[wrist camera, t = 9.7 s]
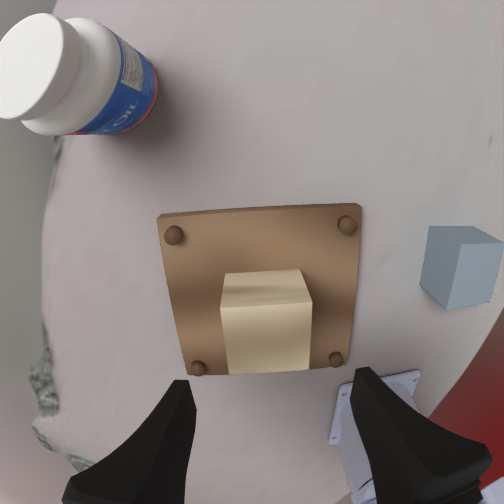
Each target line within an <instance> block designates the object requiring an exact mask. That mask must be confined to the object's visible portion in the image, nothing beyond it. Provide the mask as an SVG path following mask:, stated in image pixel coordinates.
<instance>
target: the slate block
mask: <svg viewBox="0 0 504 504" xmlns="http://www.w3.org/2000/svg"><path fill="white" fill-rule="evenodd" d="M503 248H504V242H502V241H500V240H498V239H496V238H494V237H492V236H491V235H489V234H487V233H485V232H483V231H481V230H479V229H477V228H475V227H473V226H429V231H428V238H427V245H426V252H425V258H424V263H423V269H422V274H421V279H420V285H421V286H422V287H423V288H424V289H425V290H426V291H427V292H428V293H429V294H430V295H431V296H432V297H433V298H434V299H435V300H436V301H437V302H438V303H439V304H440V305H441V306H442V307H443V308H444V309H445V310H451V309H457V308H463V307H468V306H474V305H479V304H484V303H489V302H490V299H491V296H492V292H493V289H494V285H495V282H496V278H497V274H498V270H499V266H500V262H501V258H502V253H503Z"/></svg>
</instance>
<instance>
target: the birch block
mask: <svg viewBox="0 0 504 504" xmlns="http://www.w3.org/2000/svg"><path fill="white" fill-rule="evenodd" d="M220 312H221V319H222V327H223V334H224V342H225V349H226V356H227V363H228V369H229V375H233V374H256V373H272V372H285V371H297V370H307V369H309V358H310V342H311V322H312V300H311V297H310V294H309V292H308V289H307V286H306V284H305V281H304V278H303V276H302V273H301V271H300V269H293V270H277V271H261V272H245V273H227V274H225V279H224V285H223V292H222V298H221V305H220Z"/></svg>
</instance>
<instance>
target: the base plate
mask: <svg viewBox="0 0 504 504" xmlns="http://www.w3.org/2000/svg"><path fill="white" fill-rule="evenodd" d="M361 209H362V207H361V206H360V205H358V204H357V203H339V204H310V205H287V206H267V207H250V208H234V209H220V210H206V211H193V212H181V213H170V214H161V215H160V216H159V217H157V225H158V232H159V239H160V245H161V251H162V257H163V263H164V268H165V274H166V279H167V285H168V290H169V295H170V300H171V305H172V310H173V315H174V319H175V324H176V328H177V333H178V337H179V341H180V346H181V350H182V354H183V358H184V362H185V366H186V370H187V374H188V375H194V376H198V377H199V376H202V375H229V369H228V363H227V356H226V349H225V342H224V334H223V327H222V319H221V312H220V305H221V298H222V292H223V285H224V279H225V274H227V273H245V272H261V271H277V270H293V269H300V271H301V273H302V276H303V278H304V281H305V284H306V286H307V289H308V292H309V294H310V297H311V300H312V322H311V342H310V358H309V369H316V368H325V367H334V368H337V367H340V366H341V365H346V363H347V357H348V350H349V344H350V337H351V329H352V322H353V314H354V305H355V296H356V286H357V275H358V263H359V250H360V233H361Z"/></svg>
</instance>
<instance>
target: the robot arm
mask: <svg viewBox="0 0 504 504" xmlns="http://www.w3.org/2000/svg"><path fill="white" fill-rule="evenodd" d="M420 375H421V373H420V371H419V370H415V371H410V372H406V373H402V374H397V375H392V376H387V377H382V378H380V377H379V376H378V375H377V374H376V373H375V372H374V371H373V370H372V369H371V368H370V367H363V368H357V369H356V371H355V376H354V381H353V383H348V384H343V385H341V386H340V387H339V390H338V396H337V401H336V406H335V411H334V416H333V421H332V426H331V430H330V435H329V439H328V444H329V445H336V444H338V446H339V450H340V454H341V458H342V462H343V466H344V470H345V474H346V479H347V483H348V486H349V488H350V490H351V491H352V493H353V494H351V499H352V503H353V504H504V477H501V478H500V479H498V480H496V481H495V482H493V483H491V484H490V485H488V486H486V487H485V488H483V489H482V490H481V491H480V490H479V488H478V486H479V485H480V484H481V483H480V480H479V477H480V476H481V475H482V474H483V473H484V472H485V471H486V470H487V469H488V467H489V466H490V465H491V463H492V461H493V457H492V455H491V454H490V452H489V450H488V449H487V447H486V445H485V444H482V443H479V442H476V441H473V440H470V439H467V438H464V437H462V436H459V435H457V434H454V433H452V432H450V431H448V430H446V429H444V428H442V427H441V426H439V425H437V424H435V423H433V422H432V421H430V420H429V419H427V418H426V417H424V416H423V415H421V413H420V411H419V409H418V407H417V405H416V403H415V401H414V400H413V398H412V396H413V394H414V391H415V389H416V386H417V384H418V381H419V378H420ZM196 412H197V409H196V406H195V402H194V399H193V395H192V391H191V388H190V384H189V380H174V381H173V382H172V384H171V385H170V387H169V388H168V390H167V391H166V393H165V394H164V396H163V397H162V399H161V400H160V402H159V403H158V404H157V406H156V407H155V408H154V410H153V411H152V412H151V414H150V415H149V416H148V417H147V418H146V420H145V421H144V422H143V423H142V424H141V426H140V427H139V428H138V429H137V430H136V431H135V432H134V433H133V434H132V435H131V436H130V437H129V438H128V439H127V440H126V441H125V442H124V443H123V444H122V445H120V446H119V447H118V448H117V449H116V450H114V451H113V452H112V453H111V454H109V455H108V456H107V457H105V458H104V459H102V460H101V461H99V462H98V463H96V464H95V465H93V466H91V467H90V468H88V469H86V470H84V471H82V472H80V473H78V474H76V475H74V476H72V477H71V478H70V480H69V482H68V484H67V486H66V489H65V492H64V495H63V497H62V502H63V504H184V496H185V482H186V473H187V467H188V462H189V457H190V453H191V448H192V443H193V438H194V433H195V426H196Z"/></svg>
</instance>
